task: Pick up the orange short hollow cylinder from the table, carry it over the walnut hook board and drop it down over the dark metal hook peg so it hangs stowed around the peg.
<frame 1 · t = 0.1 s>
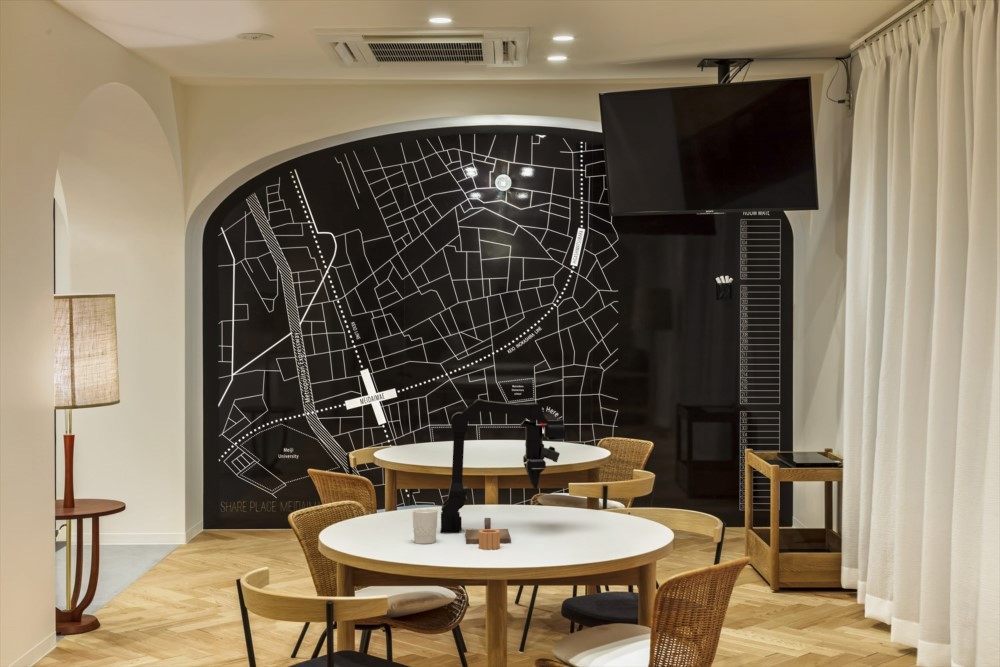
hand: (534, 486, 325), 15 cm above the table, fingers open, 9 cm apart
orange short hollow cylinder: (489, 547, 297), on the table
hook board: (487, 538, 311), on the table
white cup: (425, 542, 306), on the table
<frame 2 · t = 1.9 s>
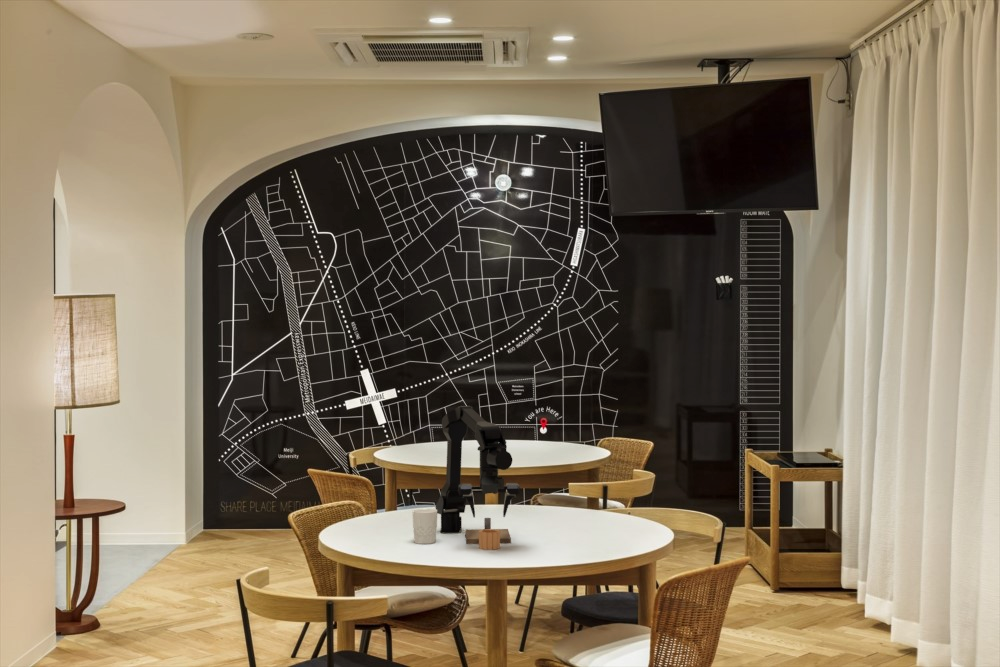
hand: (489, 517, 297), 9 cm above the table, fingers open, 9 cm apart
nothing on the table moved.
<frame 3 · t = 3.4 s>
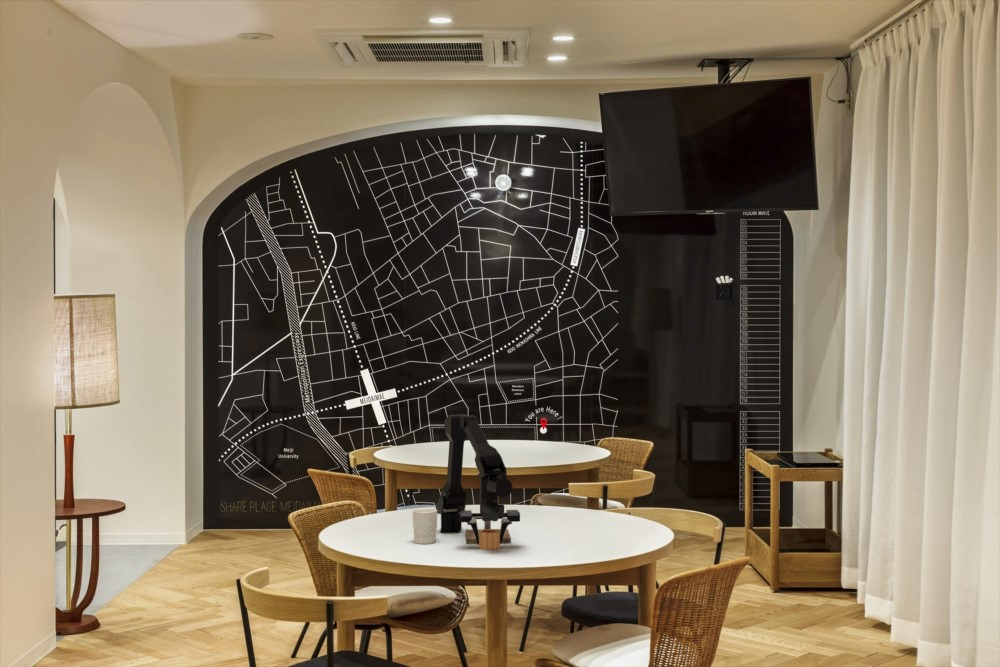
hand: (489, 544, 297), 1 cm above the table, fingers closed on orange short hollow cylinder, 6 cm apart
orange short hollow cylinder: (489, 547, 297), on the table, touching gripper
everything else where it was.
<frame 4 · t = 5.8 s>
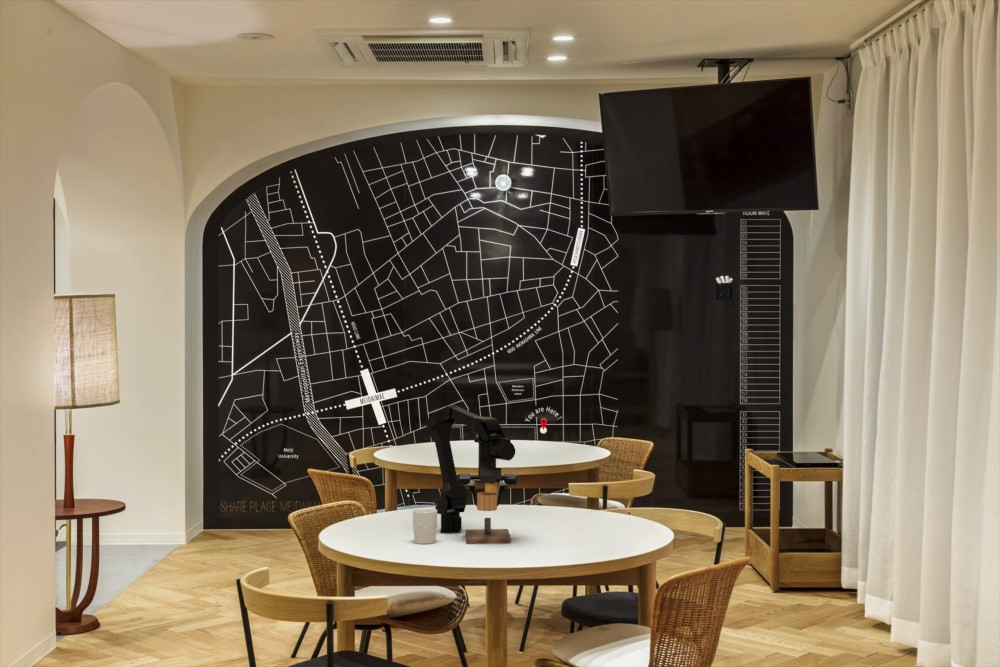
hand: (487, 506, 309), 11 cm above the table, fingers closed on orange short hollow cylinder, 6 cm apart
orange short hollow cylinder: (486, 509, 309), point 10 cm above the table, touching gripper
everything else where it was.
when the fingers open (5 cm above the table, at t = 8.0 s): orange short hollow cylinder drops 3 cm, resting on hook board.
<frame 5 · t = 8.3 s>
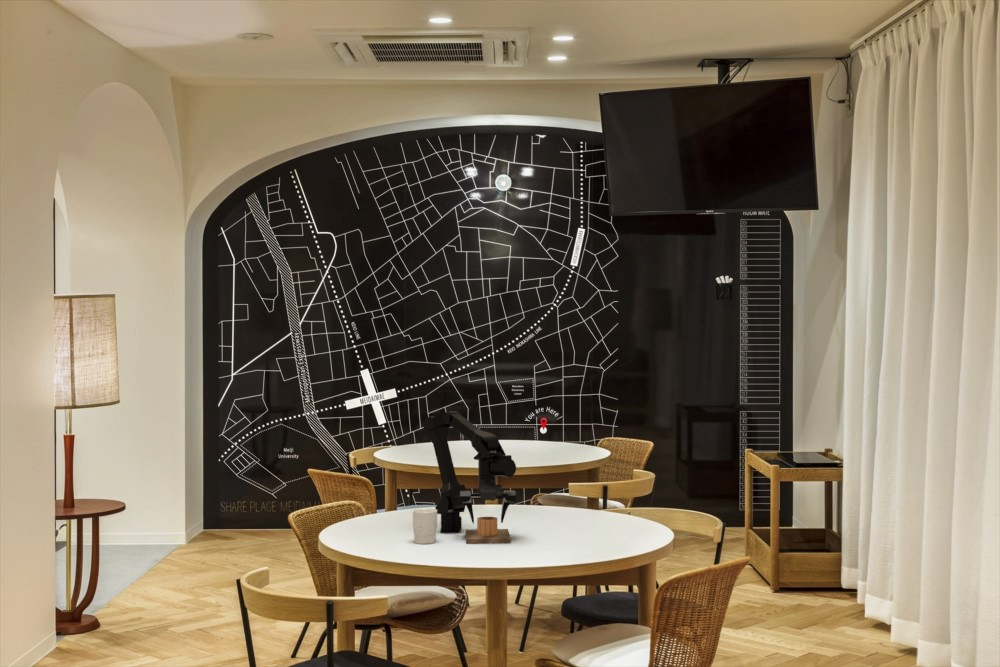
hand: (487, 522, 311), 5 cm above the table, fingers open, 9 cm apart
orange short hollow cylinder: (487, 533, 311), point 1 cm above the table, touching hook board
everything else where it was.
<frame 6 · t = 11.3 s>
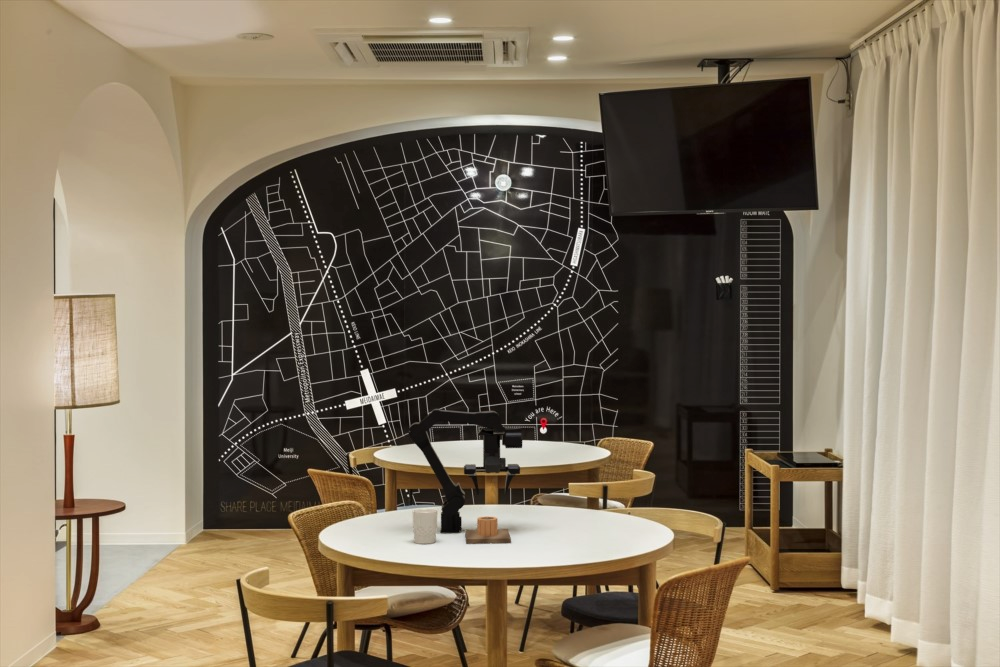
hand: (491, 495, 324), 12 cm above the table, fingers open, 9 cm apart
nothing on the table moved.
at the end: orange short hollow cylinder 0.1 cm off-centre on the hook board, point 1.5 cm above the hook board's base; orange short hollow cylinder tilted 0°; the gripper is holding nothing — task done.
